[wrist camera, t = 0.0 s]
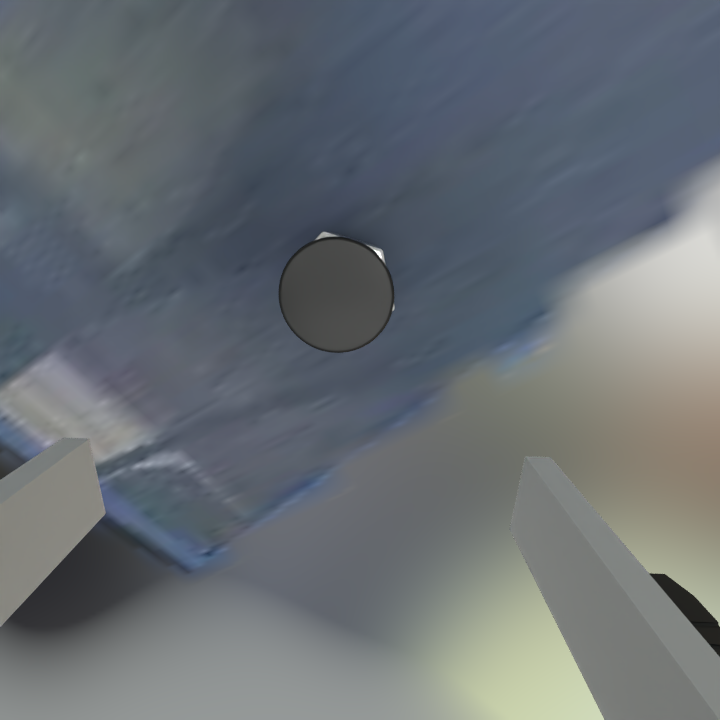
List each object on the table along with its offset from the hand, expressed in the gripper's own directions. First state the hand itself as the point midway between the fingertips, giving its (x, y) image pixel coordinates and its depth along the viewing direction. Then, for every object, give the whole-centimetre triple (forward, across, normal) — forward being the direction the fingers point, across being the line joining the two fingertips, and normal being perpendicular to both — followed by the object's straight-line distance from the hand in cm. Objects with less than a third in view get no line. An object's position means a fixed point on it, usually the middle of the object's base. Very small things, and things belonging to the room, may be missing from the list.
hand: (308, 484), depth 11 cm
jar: (+28, 0, +3) cm, 28 cm away
